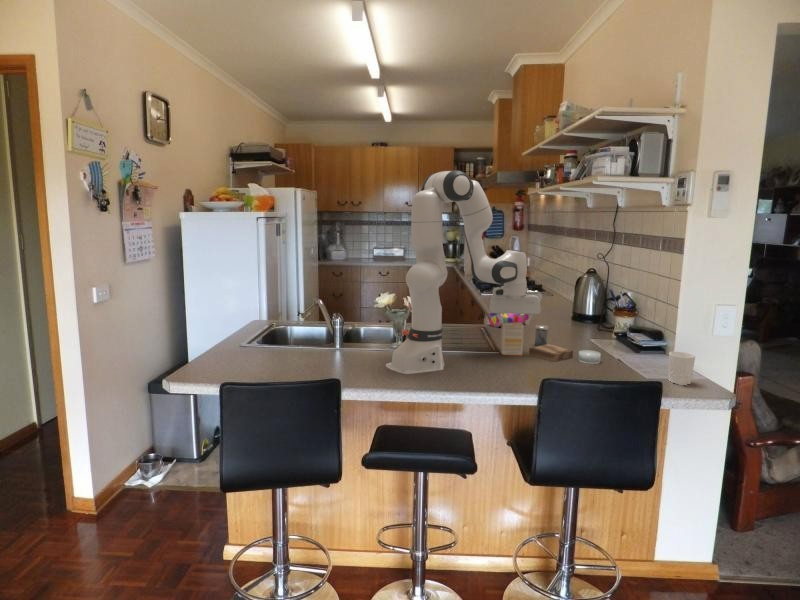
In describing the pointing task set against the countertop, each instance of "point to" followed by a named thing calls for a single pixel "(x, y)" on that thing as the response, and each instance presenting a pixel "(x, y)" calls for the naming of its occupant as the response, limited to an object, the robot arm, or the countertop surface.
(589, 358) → the ramekin
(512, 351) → the supplement box
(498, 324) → the pencil case
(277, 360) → the countertop surface
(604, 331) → the countertop surface
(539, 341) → the spice tin
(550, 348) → the podium
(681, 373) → the white cup
